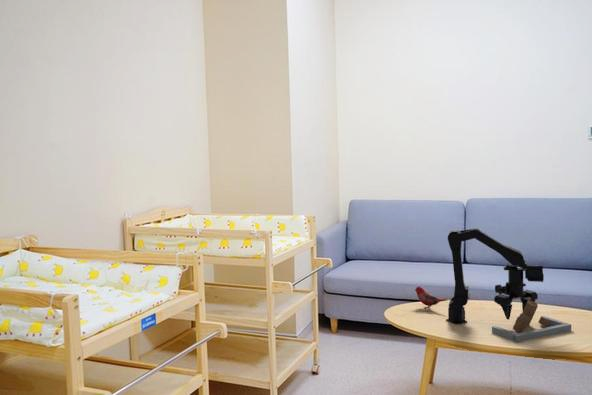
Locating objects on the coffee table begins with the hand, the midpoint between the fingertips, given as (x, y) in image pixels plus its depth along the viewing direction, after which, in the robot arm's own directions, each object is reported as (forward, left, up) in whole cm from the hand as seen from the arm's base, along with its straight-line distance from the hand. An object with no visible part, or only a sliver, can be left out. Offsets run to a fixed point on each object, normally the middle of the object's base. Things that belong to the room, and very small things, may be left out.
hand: (516, 317), depth 214 cm
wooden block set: (+2, -4, -4) cm, 6 cm away
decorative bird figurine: (-15, +37, -4) cm, 40 cm away
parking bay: (0, -7, -4) cm, 8 cm away
